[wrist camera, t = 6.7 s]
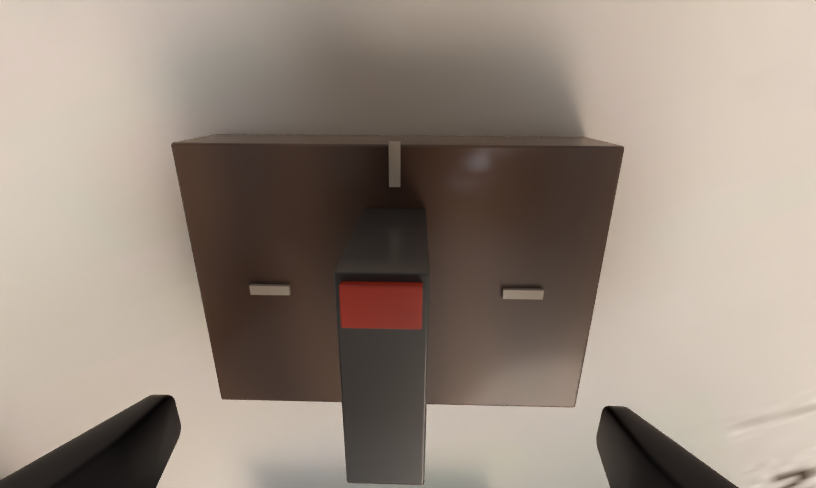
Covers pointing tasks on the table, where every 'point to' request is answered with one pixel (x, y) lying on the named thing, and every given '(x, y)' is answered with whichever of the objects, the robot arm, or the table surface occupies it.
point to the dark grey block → (384, 345)
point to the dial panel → (448, 256)
